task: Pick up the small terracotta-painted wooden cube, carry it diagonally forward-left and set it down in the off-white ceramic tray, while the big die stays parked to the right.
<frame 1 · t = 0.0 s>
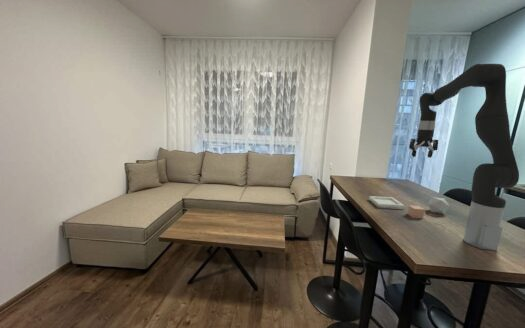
hand: (421, 157, 128), 29 cm above the table, fingers open, 8 cm apart
die: (436, 212, 122), on the table
cube: (415, 216, 116), on the table
tray: (385, 204, 132), on the table
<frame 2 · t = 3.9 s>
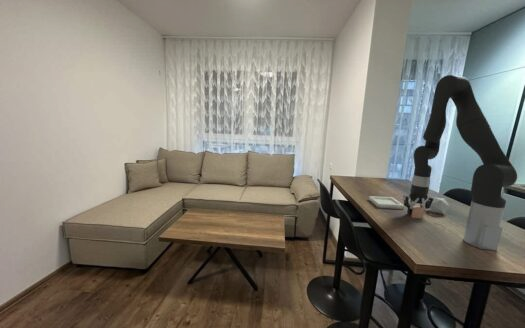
hand: (415, 215, 116), 0 cm above the table, fingers closed on cube, 5 cm apart
cube: (414, 216, 116), on the table, touching gripper
everything else where it was.
when the fingers open (2 cm above the table, at t = 8.6 s): cube stays where it is, resting on tray.
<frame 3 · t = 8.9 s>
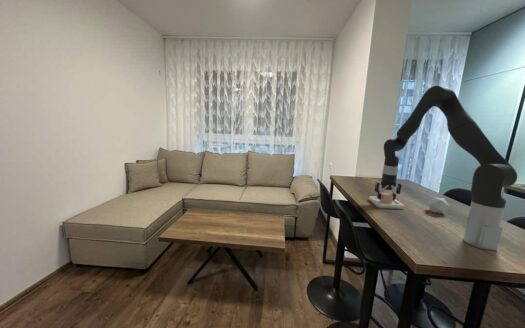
hand: (386, 199, 132), 3 cm above the table, fingers open, 7 cm apart
cube: (385, 202, 132), point 1 cm above the table, touching tray
everything else where it was.
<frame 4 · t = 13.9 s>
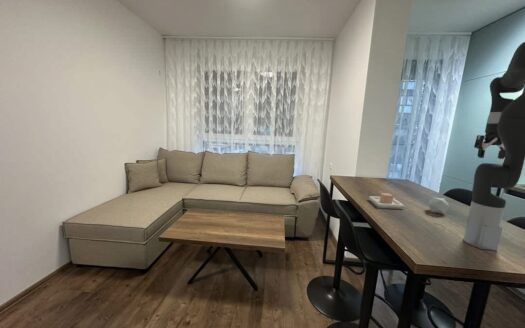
hand: (490, 158, 102), 33 cm above the table, fingers open, 8 cm apart
nothing on the table moved.
at the end: cube inside the target area on the tray (0.0 cm from its centre), point 1.2 cm above the tray's base; the gripper is holding nothing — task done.
